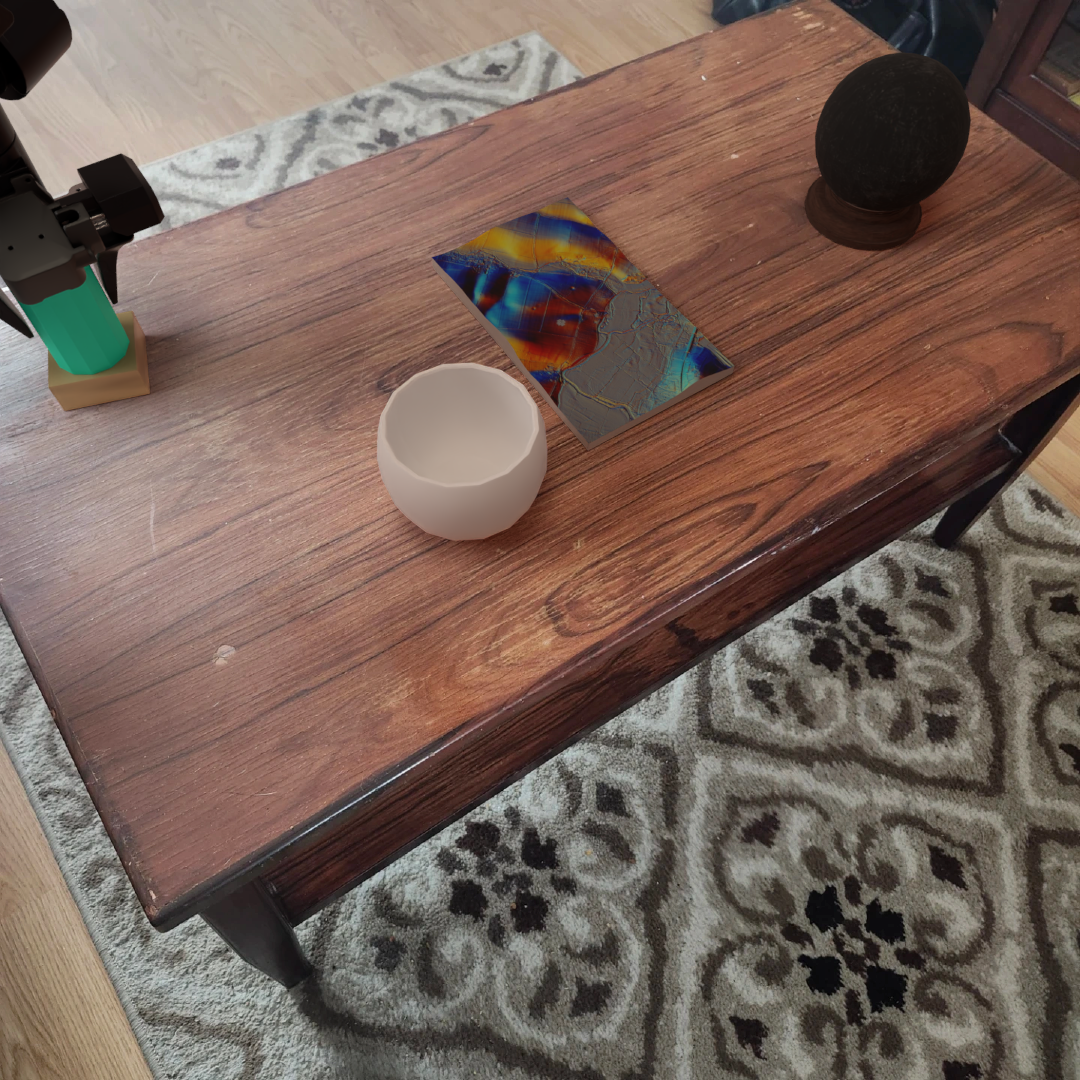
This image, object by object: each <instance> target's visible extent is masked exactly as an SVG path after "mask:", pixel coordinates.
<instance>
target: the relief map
mask: <svg viewBox="0 0 1080 1080" xmlns="http://www.w3.org/2000/svg"><path fill="white" fill-rule="evenodd" d="M431 266H432V269H433V270H434V271H435V273H436V274H437V275H438V276H439V277H440V278H441V279H442V281H443V282H444V283H445V284H446V286H448V288H449V289H450V290H451V291H452V293H453V294H454V295H455V296H456V297H457V298H458V299H459V301H460V302H461V303H462V304H463V306H465V308H466V309H467V310H468V311H469V313H471V315H472V316H473V317H474V318H475V319H476V321H477V322H478V323H479V324H480V325H481V326H482V328H483V329H484V330H485V332H487V334H488V335H489V336H490V337H491V339H492V340H493V341H494V342H495V343H496V344H497V345H498V347H499V348H500V349H501V350H502V351H503V352H504V354H505V355H506V356H507V357H508V359H509V360H510V361H511V362H512V363H513V364H514V366H515V367H516V369H518V370H519V371H520V373H521V375H523V376H524V377H525V378H526V380H527V381H528V382H529V383H530V384H531V386H532V387H533V388H534V389H535V390H536V391H537V392H538V394H539V395H540V396H541V397H542V398H543V400H544V401H545V402H546V403H547V404H548V405H549V407H550V408H551V409H552V410H553V412H555V414H556V415H557V416H558V417H559V418H560V419H561V421H562V422H563V423H564V424H565V425H566V427H567V428H568V429H569V430H570V432H571V433H572V434H573V435H574V436H575V437H576V439H577V440H578V441H579V442H580V443H581V445H583V447H584V448H585V449H586V450H587V451H590V450H592V449H594V448H596V447H598V446H599V445H601V444H603V443H605V442H607V441H609V440H611V439H612V438H615V437H617V436H618V435H620V434H622V433H624V432H625V431H627V430H629V429H631V428H634V426H637V425H639V424H641V423H643V422H644V421H646V420H648V419H650V418H652V417H654V416H656V415H657V414H659V413H661V412H663V411H665V410H667V409H669V408H671V407H672V406H674V405H676V404H678V403H680V402H682V401H684V400H685V399H687V398H690V397H691V396H693V395H695V394H696V393H699V392H701V391H702V390H704V389H706V388H708V387H710V386H711V385H714V384H715V383H717V382H720V381H721V380H723V379H726V377H729V376H730V375H732V374H734V369H735V365H734V363H733V362H732V361H731V360H730V359H729V358H728V357H726V356H725V354H723V353H722V352H721V350H719V349H718V348H717V346H715V345H714V344H713V343H712V342H711V341H710V340H709V339H708V338H707V337H706V336H705V335H704V334H703V333H702V332H701V331H700V330H699V328H698V327H697V326H695V325H694V324H693V323H692V322H691V321H690V320H689V319H688V318H687V317H686V316H685V315H684V314H683V313H681V311H679V310H678V308H676V307H675V306H674V305H673V304H672V303H671V302H670V300H668V299H667V298H666V297H665V295H663V294H662V293H661V292H660V290H658V289H657V287H655V286H654V285H653V284H652V283H651V281H649V280H648V279H647V278H646V276H645V275H644V273H643V272H642V271H641V270H640V269H638V268H637V266H635V265H634V264H633V262H631V261H630V260H629V258H628V257H627V256H626V255H625V254H624V253H623V252H622V251H621V249H620V248H619V247H618V246H617V245H616V244H615V242H614V241H613V240H611V239H610V238H609V237H608V235H606V234H605V233H603V232H602V231H601V230H599V229H598V228H597V226H596V225H595V224H594V223H593V222H592V220H591V219H590V218H589V217H588V215H587V214H586V213H584V212H583V210H582V209H580V208H579V207H578V206H577V204H576V203H574V201H572V200H571V198H569V197H568V196H566V197H564V198H562V199H559V200H558V201H555V202H553V203H550V204H548V205H546V206H544V207H542V208H540V209H538V210H536V211H533V212H530V213H526V214H524V215H521V216H518V217H516V218H513V219H511V220H508V221H505V222H503V223H501V224H498V225H496V226H494V227H492V228H490V229H488V230H486V231H484V232H483V233H481V234H480V235H478V236H477V237H475V238H474V239H471V240H470V241H468V242H466V243H463V244H462V245H460V246H458V247H456V248H454V249H452V250H451V249H450V251H447V252H444V253H441V254H438V255H434V256H431Z"/></svg>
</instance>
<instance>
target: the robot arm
mask: <svg viewBox="0 0 1080 1080" xmlns="http://www.w3.org/2000/svg"><path fill="white" fill-rule="evenodd" d="M72 30H73V29H72V26H71V23H70V20H69V18H68V16H67V14H66V12H65V10H63V9H62V8H60V6H58V4H57V3H56V2H55V0H0V99H1V100H6V101H20V100H22V99H24V98H26V97H27V96H28V95H29V94H30V92H31V91H32V90H33V89H34V88H35V87H36V86H37V85H38V84H39V83H40V82H41V80H42V79H43V78H44V77H45V76H46V75H47V74H48V72H49V71H50V70H51V69H52V68H53V67H54V66H55V65H56V63H58V61H59V60H60V59H61V58H62V57H63V56H64V55H65V54H66V53H67V52H68V50H69V49H70V48H71V46H72V42H73V31H72ZM76 171H77V174H78V176H79V178H80V180H81V182H80V183H76V184H74V185H72V186H70V188H69V189H68V192H67V193H66V194H64V195H60V196H58V197H55V198H54V197H53V195H52V194H51V192H49V191H48V189H47V188H46V185H45V184H44V182H43V180H42V178H41V177H40V174H39V173H38V171H37V169H36V167H35V165H34V163H33V161H32V160H31V158H30V155H29V154H28V151H27V149H26V148H25V146H24V144H23V143H22V141H21V139H20V137H19V135H18V134H17V132H16V130H15V128H14V125H13V124H12V122H11V120H10V118H9V117H8V114H7V113H6V111H5V109H4V107H3V105H2V103H1V102H0V278H1V279H2V280H3V282H4V284H5V283H6V284H5V285H6V287H7V286H8V287H9V288H8V287H7V288H8V290H9V289H10V290H11V291H10V290H9V291H10V293H11V292H12V293H13V294H12V293H11V294H12V296H13V295H14V296H15V297H16V299H17V300H18V301H19V302H21V303H23V304H26V305H34V304H37V303H40V302H42V301H43V300H44V299H45V298H48V297H50V296H53V295H55V294H58V293H60V292H63V291H66V290H73V289H75V288H78V287H80V286H81V285H82V284H83V283H84V282H85V280H86V271H85V269H84V267H86V266H88V265H90V266H91V265H93V267H94V270H95V272H96V275H97V279H98V281H99V283H100V285H101V287H102V289H103V291H104V292H105V294H106V296H107V298H108V300H109V301H110V303H111V305H117V304H119V295H118V275H117V273H118V271H117V263H118V255H119V251H120V250H121V249H122V248H123V247H124V246H126V245H128V244H130V243H132V242H133V241H134V240H135V234H137V233H139V232H142V231H144V230H145V231H146V230H148V229H150V228H152V227H155V226H157V225H160V224H161V223H162V222H163V221H164V219H165V217H166V216H165V214H164V211H163V208H162V206H161V204H160V202H159V199H158V197H157V195H156V193H155V191H154V190H153V187H152V185H150V183H149V181H148V180H147V179H146V177H145V175H144V174H143V173H142V171H141V170H140V168H139V167H138V165H137V164H136V162H135V161H134V159H133V158H131V157H129V156H127V155H126V154H123V153H121V152H120V153H118V154H115V155H112V156H109V157H106V158H104V159H101V160H97V161H95V162H93V163H92V162H91V163H90V164H87V165H84V166H82V167H81V166H80V167H78V168H76ZM14 296H13V297H14ZM15 297H14V298H15ZM16 299H15V300H16ZM0 320H1V321H2V322H4V323H5V324H7V326H10V327H11V328H12V329H14V330H16V331H17V332H18V333H20V334H22V335H23V336H25V337H26V338H27V339H33V338H35V335H34V333H33V330H32V329H31V327H30V325H29V323H28V322H27V321H26V319H25V318H24V316H23V314H22V312H21V311H20V310H19V308H18V307H17V306H16V305H15V304H14V303H13V301H12V300H11V299H10V298H9V296H8V295H7V294H6V293H5V292H4V290H3V289H2V288H1V287H0Z"/></svg>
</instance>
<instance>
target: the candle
mask: <svg viewBox="0 0 1080 1080" xmlns="http://www.w3.org/2000/svg"><path fill="white" fill-rule="evenodd" d="M84 269H85V271H86V280H85V282H84V283H83V284H82V285H81V286H80V287H78V288H75V289H73V290H66V291H63V292H60V293H58V294H55V295H53V296H50V297H48V298H45V299H44V300H43V301H42V302H40V303H37V304H34V305H26V304H23V303H21V302H19V301H18V300H17V299H16V297H15V296H14V295H13V293H12V292H11V290H10V289H9V287H8V286H7V285H6V283H5V282H4V284H5V285H6V287H7V288H8V290H9V291H10V293H11V295H12V296H13V298H14V299H15V302H17V304H18V305H19V307H20V308H21V310H22V312H23V313H24V315H25V316H26V317H27V319H28V321H29V322H30V324H31V326H32V327H33V328H34V330H35V331H36V333H37V335H38V336H39V339H41V341H42V343H43V344H44V345H45V347H46V349H47V351H48V350H49V351H50V353H51V355H52V356H53V358H54V359H55V361H56V362H57V364H58V365H59V367H60V368H62V369H64V370H66V371H68V372H70V373H72V374H74V375H94V374H96V373H99V372H102V371H104V370H107V369H109V368H112V367H113V366H114V365H115V364H116V363H117V362H119V361H120V360H121V359H122V358H123V357H124V356H125V355H126V352H127V348H128V345H129V342H130V341H129V339H128V337H127V335H126V332H125V330H124V328H123V326H122V325H121V323H120V321H119V319H118V317H117V315H116V314H117V312H115V309H114V307H113V306H112V303H111V301H110V299H109V297H108V295H107V293H106V292H105V290H104V288H103V286H102V284H101V282H100V280H99V278H98V276H96V273H95V272H94V270H93V268H92V266H91V265H88V266H86V267H84Z"/></svg>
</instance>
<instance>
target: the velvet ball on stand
mask: <svg viewBox="0 0 1080 1080" xmlns="http://www.w3.org/2000/svg"><path fill="white" fill-rule="evenodd" d="M971 122H972V118H971V111H970V104H969V99H968V96H967V94H966V91H965V90H964V87H963V85H962V83H961V81H960V79H958V78H957V76H956V75H955V74H954V73H953V72H952V71H951V70H950V68H949V67H947V66H946V65H945V64H943V63H942V62H940V61H938V60H937V59H935V58H932V57H929V56H928V55H923V54H918V53H915V52H914V53H913V52H895V53H888V54H884V55H880V56H878V57H874V58H871V59H869V60H868V61H865V62H864V63H862V64H861V65H859V66H857V67H856V68H854V69H853V70H852V71H850V72H849V73H848V74H847V75H845V77H844V78H843V79H842V80H841V81H840V82H839V83H837V85H836V86H835V88H834V89H833V91H832V92H831V93H830V95H829V97H828V98H827V100H826V101H825V102H824V105H823V107H822V109H821V111H820V114H819V118H818V120H817V123H816V124H817V125H816V129H815V134H814V151H815V153H814V154H815V159H816V162H817V166H818V169H819V172H820V176H819V177H818V178H817V179H815V180H814V181H813V182H812V183H811V185H810V186H809V187H808V190H807V193H806V196H805V199H804V212H805V215H806V218H807V220H808V221H809V223H810V224H811V225H812V227H813V228H814V229H815V230H816V232H818V233H820V234H821V235H822V236H823V237H825V238H827V239H828V240H831V241H832V242H834V243H835V244H839V245H840V246H843V247H847V248H851V249H854V250H859V251H869V252H871V251H884V250H889V249H890V250H891V249H893V248H897V247H900V246H902V245H904V244H905V243H907V242H909V241H910V239H912V237H914V236H915V234H916V233H917V231H918V230H919V227H920V225H921V222H922V218H923V210H922V209H923V208H922V206H921V203H920V202H923V201H924V200H926V199H927V198H929V197H930V196H931V195H933V194H934V193H936V192H937V191H938V190H939V189H941V187H942V186H943V185H944V184H945V183H946V182H947V181H949V179H950V178H951V177H952V175H953V174H954V172H955V170H956V168H957V167H958V165H959V164H960V162H961V160H962V158H963V156H964V155H965V152H966V148H967V146H968V142H969V139H970V133H971V124H972V123H971Z"/></svg>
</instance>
